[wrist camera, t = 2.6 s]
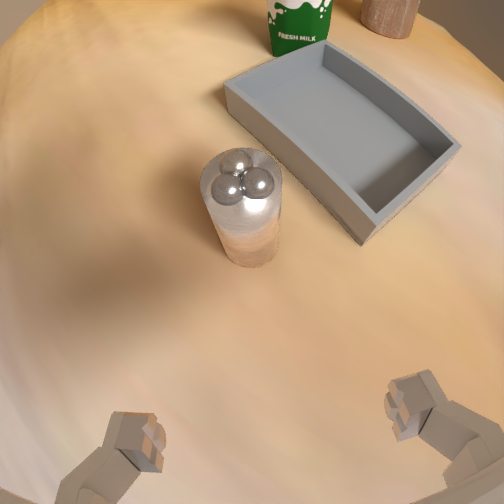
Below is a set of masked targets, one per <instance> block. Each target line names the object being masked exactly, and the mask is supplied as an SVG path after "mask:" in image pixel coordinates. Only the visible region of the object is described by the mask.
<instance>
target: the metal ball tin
mask: <svg viewBox="0 0 504 504" xmlns="http://www.w3.org/2000/svg"><path fill="white" fill-rule="evenodd" d="M200 191H201V195H202V197H203V200H204V202H205V204H206V207H207V209H208V212H209V214H210V217H211V219H212V221H213V224H214V226H215V229H216V231H217V233H218V236H219V238H220V240H221V243H222V245H223V248H224V250H225V252H226V254H227V256H228V257H229V259H230V260H231V261H232V262H234V263H235V264H237V265H239V266H241V267H245V268H256V267H260V266H262V265H264V264H266V263H268V262H269V261H270V260H271V259H272V258H273V257H274V255H275V253H276V251H277V248H278V241H279V226H280V211H281V195H282V174H281V171H280V168H279V166H278V165H277V163H276V162H275V161H274V160H273V159H272V158H271V157H270V156H269V155H267V154H266V153H264V152H262V151H259V150H256V149H252V148H235V149H230V150H227V151H225V152H222V153H220V154H219V155H217V156H216V157H214V158H213V159H212V160H211V161H210V162H209V163H208V164H207V165H206V167H205V168H204V170H203V172H202V175H201V179H200Z"/></svg>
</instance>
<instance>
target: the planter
mask: <svg viewBox="0 0 504 504" xmlns="http://www.w3.org/2000/svg"><path fill="white" fill-rule="evenodd" d="M419 4H420V0H363V2H362V7H361V13H360V21H361V22H362V24H363V25H364V26H366V27H367V28H368V29H370V30H372V31H374V32H376V33H378V34H380V35H383V36H386V37H390V38H395V39H404V38H407V37H409V35H410V32H411V30H412V27H413V23H414V20H415V17H416V14H417V10H418V7H419Z"/></svg>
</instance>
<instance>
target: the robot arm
mask: <svg viewBox="0 0 504 504" xmlns="http://www.w3.org/2000/svg"><path fill="white" fill-rule="evenodd" d="M388 389H389V392H388V393H387V394H386V395H385V400H384V405H385V411H386V414H387V417H388V418H389V419H390V420H392V421H394V423H393V426H392V429H393V432H394V434H395V437H396V439H397V442H399V441H402V440H405V439H408V438H411V437H414V436H417V435H419V437H420V438H421V439H423V440H424V441H425V442H427V443H428V444H429V445H431V446H432V447H433V448H435V449H436V450H437V451H439V452H440V453H441V454H443V455H444V456H445V457H447V458H448V459H449V460H451V461H452V462H451V464H450V465H449V466H448V467H447V468H446V469H445V470H444V472H443V476H444V479H445V481H446V484H447V487H448V488H446V489H444V490H442V491H439V492H437V493H435V494H433V495H430V496H428V497H426V498H423V499H421V500H418V501H416V502H413V503H410V504H504V433H503V431H502V429H501V428H500V426H499V424H497V423H495V422H493V421H491V420H489V419H487V418H485V417H483V416H481V415H479V414H477V413H475V412H474V411H472V410H470V409H468V408H466V407H464V406H462V405H460V404H458V403H456V402H455V401H453V400H451V401H448V399H447V397H446V395H445V394H444V392H443V390H442V389H441V387H440V385H439V384H438V382H437V380H436V379H435V377H434V375H433V374H432V372H431V371H430V370H429V369H427V370H423V371H421V372H418V373H413V374H410V375H407V376H404V377H401V378H398V379H394V380H391V381H390V382H389V384H388ZM156 421H157V417H156V416H155V415H154V413H134V412H115V411H114V412H113V414H112V415H111V418H110V421H109V424H108V428H107V431H106V435H105V438H104V442H103V445H102V447H98V448H97V449H96V450H95V451H94V452H93V453H92V454H90V455H89V456H88V457H87V458H86V459H85V460H84V461H83V462H82V463H81V464H80V465H78V466H77V467H76V468H75V469H74V470H73V471H72V472H71V473H70V474H68V475H67V476H66V477H65V478H64V479H63V480H62V481H61V482H60V486H59V489H58V493H57V496H56V500H55V504H116V503H117V502H118V501H119V500H120V498H121V497H122V496H123V495H124V494H125V492H126V491H127V490H128V489H129V487H130V486H131V485H132V484H133V482H134V481H135V480H136V479H137V477H138V476H139V475H140V473H141V472H156V473H162V468H163V460H164V457H163V456H162V454H161V452H162V451H163V450H164V448H165V446H166V434H165V431H164V428H163V427H162V425H161V424H159V423H157V422H156ZM0 504H37V503H34V502H32V501H29V500H27V499H25V498H22V497H20V496H18V495H15V494H13V493H11V492H9V491H7V490H5V489H3V488H1V487H0Z"/></svg>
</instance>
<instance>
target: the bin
mask: <svg viewBox="0 0 504 504" xmlns="http://www.w3.org/2000/svg"><path fill="white" fill-rule="evenodd" d="M223 85H224V91H225V96H226V102H227V108H228V113H229V114H230V115H231V116H232V117H233V118H234V119H236V120H237V121H238V122H239V123H240V124H241V125H242V126H243V127H244V128H245V129H247V130H248V131H249V132H250V133H251V134H252V135H253V136H254V137H255V138H256V139H257V140H258V141H259V142H260V143H262V144H263V145H264V146H265V147H266V148H267V149H268V150H269V151H270V152H271V153H272V154H273V155H274V156H275V157H276V158H277V159H278V160H279V161H280V162H281V163H282V164H283V165H284V166H285V167H286V168H287V169H288V170H289V171H290V172H291V173H292V174H293V175H294V176H295V177H296V178H297V179H298V180H299V181H300V182H301V183H302V184H303V185H304V186H305V187H306V188H307V189H308V190H309V191H310V192H311V193H312V194H313V195H314V196H315V197H316V198H317V199H318V200H319V201H320V202H321V204H322V205H323V206H324V207H325V208H326V209H327V210H328V211H329V212H330V213H331V214H332V215H333V216H334V217H335V218H336V220H337V221H338V222H339V223H340V224H341V225H342V226H343V227H344V228H345V229H346V231H347V232H348V233H349V234H350V235H351V236H352V237H353V238H354V239H355V241H356V242H357V243H358V244H359V245H360V246H362V245H363V244H364V243H366V242H367V241H368V240H369V239H370V238H371V237H372V236H373V235H375V234H376V233H377V232H378V231H379V230H380V229H381V228H382V227H384V226H385V225H386V224H387V223H388V222H389V221H390V220H391V219H392V218H393V217H395V216H396V215H397V214H398V213H399V212H400V211H401V210H402V209H403V208H404V207H405V206H406V205H408V204H409V203H410V202H411V201H412V200H413V199H414V198H415V197H416V196H417V195H418V194H419V193H420V192H421V191H422V190H423V189H424V188H425V187H426V186H428V185H429V184H430V183H431V182H432V181H433V180H434V179H435V178H436V177H437V176H438V175H439V174H440V173H441V172H442V171H443V170H444V169H445V167H446V166H447V165H448V164H449V162H450V161H451V160H452V158H453V157H454V156H455V155H456V153H457V152H458V151H459V149H460V148H461V147H462V146H461V145H460V144H459V143H458V142H457V141H456V140H455V139H454V138H453V137H452V136H451V135H450V134H449V133H448V132H447V131H446V130H445V129H444V128H443V127H442V126H441V125H440V124H439V123H437V122H436V121H435V120H434V119H433V118H432V117H431V116H430V115H429V114H427V113H426V112H425V111H424V110H423V109H422V108H421V107H419V106H418V105H417V104H416V103H415V102H413V101H412V100H411V99H410V98H409V97H407V96H406V95H405V94H404V93H402V92H401V91H400V90H399V89H397V88H396V87H395V86H393V85H392V84H391V83H389V82H388V81H387V80H385V79H384V78H383V77H381V76H380V75H379V74H377V73H376V72H374V71H373V70H372V69H370V68H369V67H367V66H366V65H364V64H363V63H361V62H360V61H358V60H357V59H355V58H354V57H352V56H351V55H349V54H348V53H346V52H344V51H343V50H341V49H340V48H338V47H336V46H335V45H333V44H331V43H330V42H328V41H326V40H322V41H319V42H316V43H314V44H311V45H308V46H306V47H303V48H300V49H298V50H295V51H293V52H290V53H288V54H285V55H283V56H281V57H278V58H276V59H274V60H271V61H269V62H267V63H265V64H262V65H260V66H258V67H256V68H254V69H251V70H249V71H247V72H245V73H243V74H241V75H239V76H237V77H235V78H233V79H231V80H229V81H227V82H225V83H223Z"/></svg>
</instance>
